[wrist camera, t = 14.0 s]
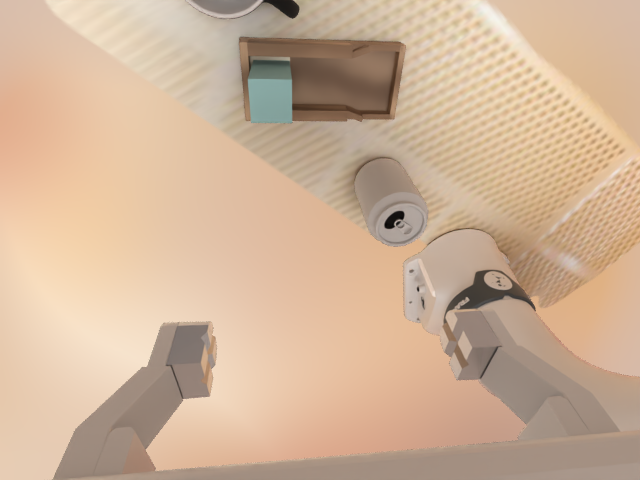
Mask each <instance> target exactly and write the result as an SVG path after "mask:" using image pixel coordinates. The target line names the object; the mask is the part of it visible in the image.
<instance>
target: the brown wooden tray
mask: <svg viewBox="0 0 640 480" xmlns="http://www.w3.org/2000/svg"><path fill="white" fill-rule="evenodd" d="M239 47H240V59H241V70H242V82H243V93H244V105H245V117H246V121H251V114H250V101H249V88H248V76H249V73H250V70H251V66H252V63H253V60H284V61H290V68H291V76H292V121H347V119H355V120H358V121H360V122H362V119H394V117H395V111H396V105H397V98H398V92H399V86H400V80H401V74H402V68H403V62H404V55H405V49H406V45H404V44H402V43H401V42H379V41H346V40H314V39H281V38H248V37H240V38H239Z"/></svg>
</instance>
